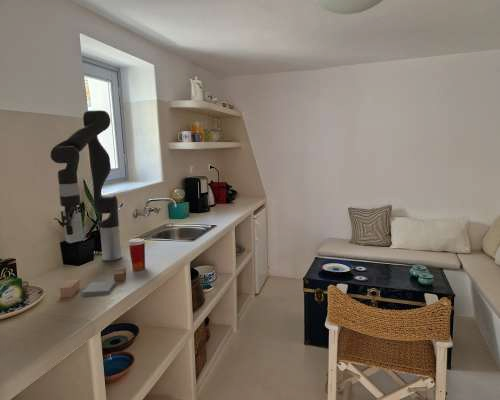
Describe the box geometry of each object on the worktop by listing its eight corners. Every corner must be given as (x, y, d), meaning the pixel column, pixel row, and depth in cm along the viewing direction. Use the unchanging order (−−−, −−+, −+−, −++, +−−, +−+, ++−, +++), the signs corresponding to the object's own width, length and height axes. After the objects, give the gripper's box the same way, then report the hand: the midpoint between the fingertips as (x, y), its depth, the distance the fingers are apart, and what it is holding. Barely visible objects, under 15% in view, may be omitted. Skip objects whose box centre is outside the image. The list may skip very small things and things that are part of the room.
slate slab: (91, 287, 143) (91, 282, 142) (116, 285, 144) (116, 281, 143) (82, 297, 133) (82, 292, 133) (109, 295, 134) (108, 290, 134)
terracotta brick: (70, 289, 140) (69, 280, 139) (80, 288, 140) (79, 279, 140) (60, 297, 132) (59, 288, 132) (71, 297, 132) (70, 287, 132)
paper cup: (139, 265, 167) (137, 237, 165) (150, 267, 163) (148, 239, 161) (126, 270, 160) (124, 241, 158) (137, 272, 156) (135, 243, 154)
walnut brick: (116, 276, 153) (116, 268, 152) (126, 275, 154) (125, 267, 153) (114, 283, 145) (113, 274, 145) (124, 282, 146) (123, 273, 146)
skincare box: (79, 238, 150) (76, 212, 148) (84, 240, 147) (81, 213, 146) (65, 241, 146) (62, 214, 144) (69, 243, 143) (66, 215, 141)
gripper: (67, 192, 150) (72, 228, 153) (52, 197, 136) (56, 237, 139) (85, 191, 151) (89, 228, 153) (71, 196, 137) (75, 236, 139)
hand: (73, 232), depth 146 cm, fingers closed on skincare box, 7 cm apart
